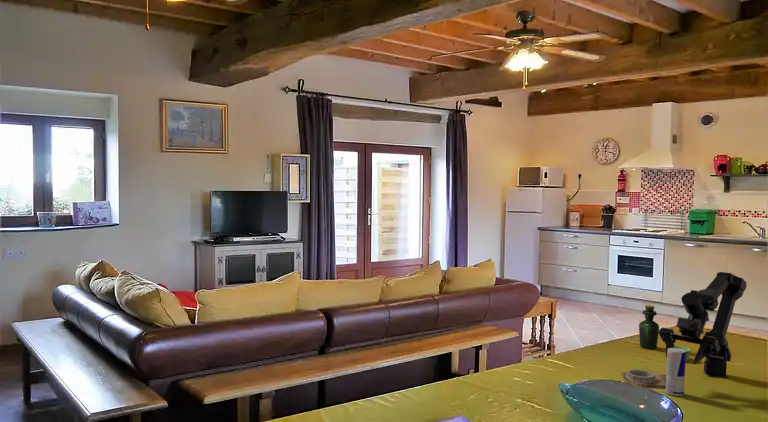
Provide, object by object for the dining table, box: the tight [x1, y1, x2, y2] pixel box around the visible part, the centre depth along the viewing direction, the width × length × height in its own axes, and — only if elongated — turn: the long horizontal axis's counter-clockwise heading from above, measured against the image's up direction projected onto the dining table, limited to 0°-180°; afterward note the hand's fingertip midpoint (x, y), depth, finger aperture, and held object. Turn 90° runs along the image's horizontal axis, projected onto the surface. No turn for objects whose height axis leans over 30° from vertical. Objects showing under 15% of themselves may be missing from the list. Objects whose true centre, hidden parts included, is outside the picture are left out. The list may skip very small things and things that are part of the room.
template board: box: [620, 368, 666, 389], centre depth 223 cm, size 16×13×3 cm
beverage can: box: [665, 348, 686, 397], centre depth 211 cm, size 6×6×15 cm
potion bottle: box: [638, 304, 660, 350], centre depth 270 cm, size 8×8×18 cm
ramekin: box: [674, 345, 691, 362], centre depth 253 cm, size 9×9×4 cm
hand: (680, 359), depth 212 cm, fingers open, 9 cm apart
